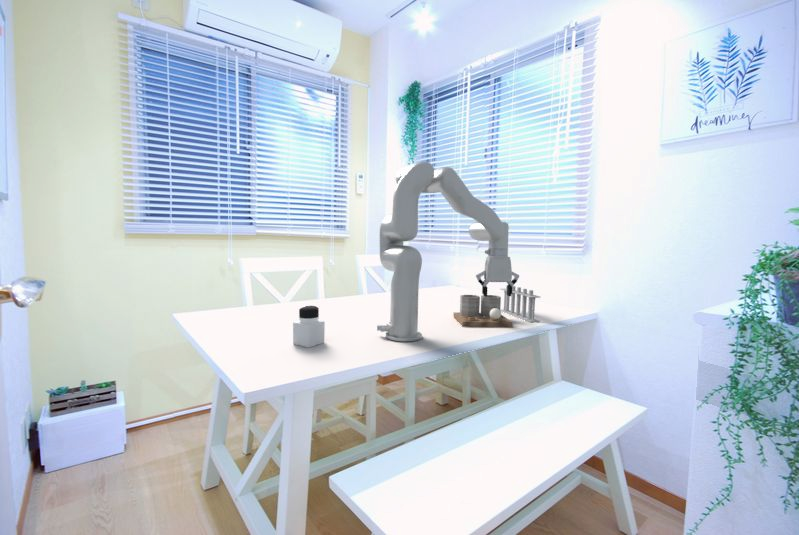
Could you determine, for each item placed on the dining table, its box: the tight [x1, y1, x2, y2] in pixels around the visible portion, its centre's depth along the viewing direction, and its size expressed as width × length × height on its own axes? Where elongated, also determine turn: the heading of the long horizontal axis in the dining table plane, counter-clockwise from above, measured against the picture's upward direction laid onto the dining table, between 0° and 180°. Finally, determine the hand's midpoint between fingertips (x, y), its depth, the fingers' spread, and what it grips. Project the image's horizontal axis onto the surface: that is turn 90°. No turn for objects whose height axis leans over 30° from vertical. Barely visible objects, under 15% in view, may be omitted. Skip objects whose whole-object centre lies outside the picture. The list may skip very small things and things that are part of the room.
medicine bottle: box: [292, 305, 326, 348], centre depth 120 cm, size 7×7×12 cm
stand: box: [452, 294, 514, 328], centre depth 156 cm, size 20×18×10 cm
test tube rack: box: [499, 285, 541, 324], centre depth 168 cm, size 25×4×13 cm, turn 16°
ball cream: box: [490, 308, 502, 319], centre depth 151 cm, size 4×4×4 cm
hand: (497, 295), depth 150 cm, fingers open, 9 cm apart
